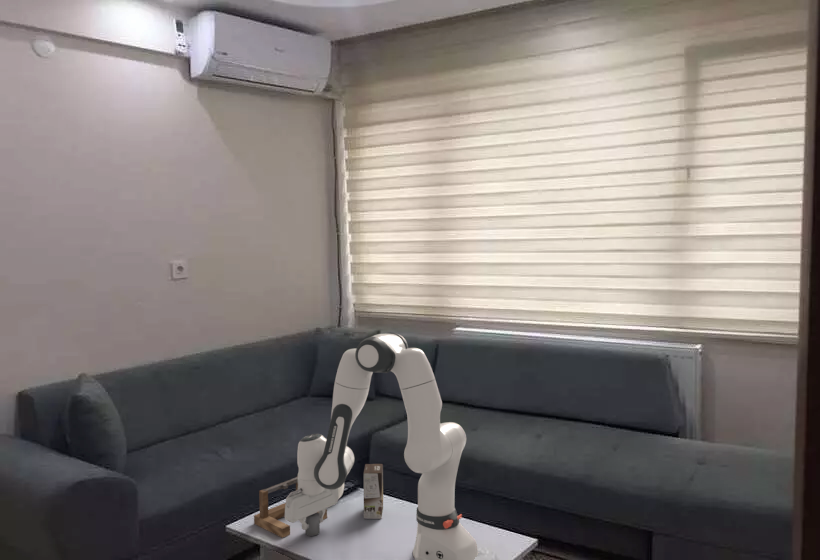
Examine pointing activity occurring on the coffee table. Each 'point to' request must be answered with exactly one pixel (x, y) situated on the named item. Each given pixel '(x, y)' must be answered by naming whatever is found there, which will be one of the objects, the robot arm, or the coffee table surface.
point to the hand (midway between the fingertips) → (312, 525)
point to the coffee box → (373, 491)
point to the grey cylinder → (313, 524)
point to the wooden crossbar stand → (274, 511)
